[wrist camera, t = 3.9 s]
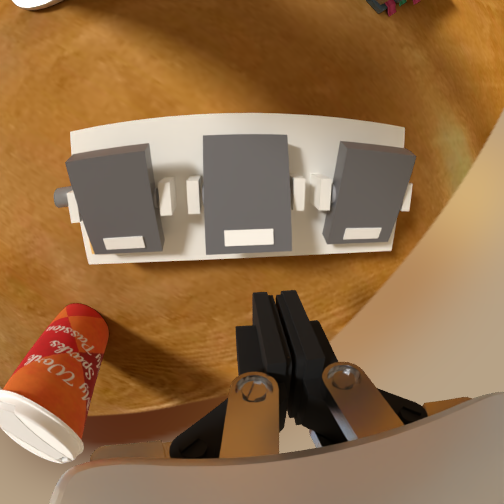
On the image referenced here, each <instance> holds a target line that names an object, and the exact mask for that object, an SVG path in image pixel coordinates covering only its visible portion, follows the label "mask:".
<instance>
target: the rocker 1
mask: <svg viewBox="0 0 504 504" xmlns="http://www.w3.org/2000/svg"><path fill="white" fill-rule="evenodd" d="M65 163H66V167H67V171H68V175H69V178H70V182H71V185H72V189H73V192H74V196H75V199H76V202H77V205H78V208H79V211H80V214H81V217H82V220H83V223H84V226H85V229H86V232H87V235H88V237H89V240H90V243H91V245H92V248H93V251H94V253H95V255H96V254H117V253H138V252H159V251H163V246H164V241H165V238H164V233H163V228H162V222H161V217H160V211H159V192H158V188H156V187H155V181H154V174H153V167H152V160H151V153H150V145H149V143H145V144H136V145H128V146H121V147H113V148H107V149H100V150H94V151H88V152H82V153H77V154H73V155H72V156H71V157H70V158H69V159H68V160H67V161H66V162H65Z"/></svg>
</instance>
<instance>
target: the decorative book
mask: <svg viewBox="0 0 504 504" xmlns="http://www.w3.org/2000/svg"><path fill="white" fill-rule="evenodd" d="M366 1H367V2H368V3H369V4H370V5H371V6H372V7H373V9H374V10H375V11H376V12H377V13H378V14H379V13H381V12H382V11H384V10H385V9H387V8H388V15H389V16H391V15H392V14H394V13H395V12H396V9H395V3H399V6H401V5H402V4H404V3H406V1H407V0H366ZM418 2H420V0H413V3H414V5H415V4H417V3H418Z"/></svg>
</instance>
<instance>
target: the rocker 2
mask: <svg viewBox="0 0 504 504" xmlns="http://www.w3.org/2000/svg"><path fill="white" fill-rule="evenodd" d="M415 159H416V156H415V155H414V154H413V153H412V152H411V151H409V150H408V149H406V148H399V147H392V146H384V145H376V144H368V143H358V142H347V141H340V144H339V150H338V155H337V161H336V167H335V172H334V178H333V183H332V185H331V200H330V210H327V213H326V218H325V223H324V227H323V232H322V234H323V237H324V239H325V241H326V243H327V244H349V243H375V242H388V241H389V238H390V236H391V233H392V230H393V228H394V225H395V222H396V219H397V216H398V214H399V211H400V208H401V205H402V202H403V199H404V196H405V193H406V190H407V186H408V183H409V180H410V177H411V173H412V170H413V166H414V163H415Z"/></svg>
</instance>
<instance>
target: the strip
mask: <svg viewBox="0 0 504 504" xmlns="http://www.w3.org/2000/svg"><path fill="white" fill-rule="evenodd" d="M229 134H281V135H287V138H288V156H289V175H290V189H291V226H292V251H285V252H263V253H240V254H217V255H206V245H205V220H204V205H203V199H202V186H203V135H229ZM70 136H71V152H72V155H73V154H77V153H82V152H88V151H94V150H100V149H107V148H113V147H121V146H128V145H136V144H145V143H149V145H150V153H151V160H152V167H153V174H154V181H155V187H156V188H158V192H159V211H160V217H161V222H162V228H163V233H164V238H165V241H164V246H163V251H159V252H138V253H117V254H96V255H95V253H94V251H93V248H92V245H91V243H90V240H89V237H88V235H87V232H86V229H85V226H84V223H83V220H82V217H81V214H80V211H79V208H78V205H77V202H76V199H75V196H74V192H73V189H72V186H69V187H62V188H57V189H56V190H55V192H54V202H55V205H56V206H57V207H58V208H60V207H68V206H69V212H70V218H71V223H76V222H80V224H81V229H82V234H83V240H84V245H85V249H86V254H87V258H88V263H89V264H110V263H135V262H160V261H184V260H207V259H230V258H252V257H274V256H295V255H316V254H336V253H356V252H376V251H391V250H392V245H393V239H394V233H395V227H396V222H395V225H394V228H393V230H392V233H391V236H390V238H389V241H388V242H375V243H349V244H327V243H326V241H325V239H324V237H323V234H322V232H323V227H324V223H325V218H326V213H327V210H330V200H331V185H332V183H333V178H334V172H335V167H336V161H337V155H338V150H339V144H340V141H347V142H358V143H368V144H376V145H384V146H392V147H399V148H404V138H405V127H400V126H394V125H389V124H382V123H376V122H369V121H362V120H354V119H346V118H336V117H326V116H314V115H299V114H277V113H220V114H198V115H183V116H171V117H160V118H151V119H143V120H135V121H128V122H121V123H115V124H109V125H103V126H97V127H92V128H87V129H82V130H77V131H72V132H70ZM412 186H413V184H412V183H408V186H407V190H406V193H405V196H404V199H403V202H402V205H401V208H400V210H401V211H409V209H410V202H411V194H412ZM396 220H397V219H396Z"/></svg>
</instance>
